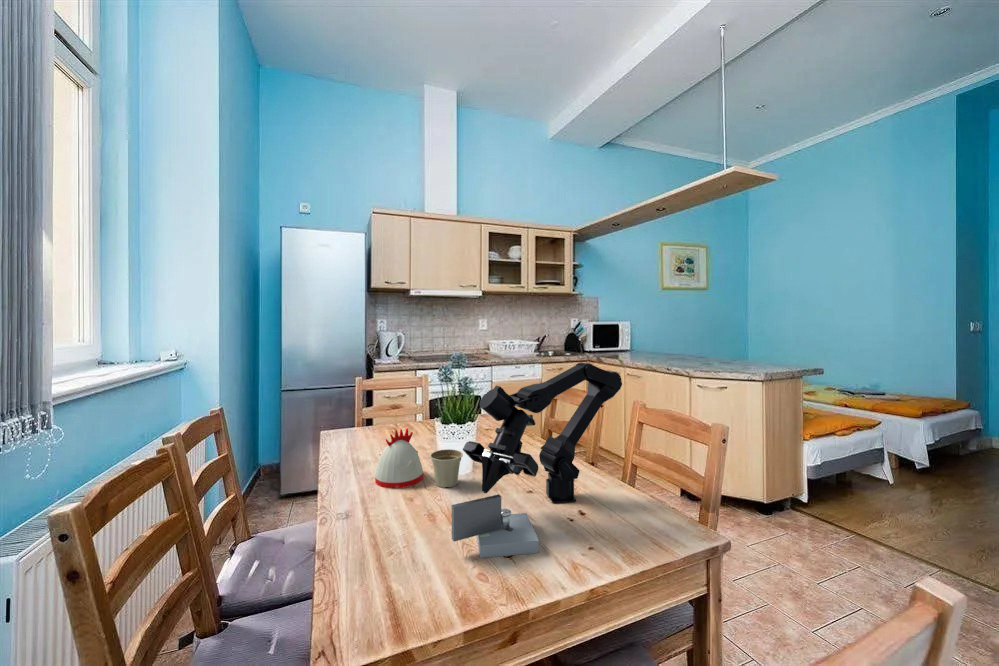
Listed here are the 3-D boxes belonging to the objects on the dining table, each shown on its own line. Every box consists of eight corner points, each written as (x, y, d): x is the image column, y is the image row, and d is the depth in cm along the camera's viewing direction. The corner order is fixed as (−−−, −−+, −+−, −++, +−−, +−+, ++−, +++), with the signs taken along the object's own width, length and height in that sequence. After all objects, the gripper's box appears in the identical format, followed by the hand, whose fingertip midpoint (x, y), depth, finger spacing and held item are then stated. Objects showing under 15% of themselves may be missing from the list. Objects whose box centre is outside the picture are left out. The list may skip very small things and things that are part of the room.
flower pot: (457, 491, 112) (457, 461, 112) (425, 489, 114) (424, 458, 113) (466, 478, 121) (466, 450, 121) (437, 476, 123) (436, 448, 123)
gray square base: (526, 523, 94) (526, 512, 94) (538, 552, 82) (538, 539, 82) (475, 527, 93) (475, 516, 93) (480, 558, 81) (480, 544, 81)
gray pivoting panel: (507, 522, 89) (507, 490, 89) (513, 527, 87) (513, 495, 87) (450, 537, 83) (450, 503, 83) (455, 543, 81) (454, 508, 81)
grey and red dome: (430, 481, 119) (429, 431, 119) (383, 492, 112) (382, 438, 111) (412, 467, 131) (412, 421, 130) (369, 476, 123) (369, 427, 123)
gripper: (556, 455, 99) (533, 518, 90) (495, 442, 110) (469, 497, 101) (539, 430, 92) (512, 496, 83) (476, 419, 103) (446, 476, 95)
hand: (484, 492), depth 91 cm, fingers closed
